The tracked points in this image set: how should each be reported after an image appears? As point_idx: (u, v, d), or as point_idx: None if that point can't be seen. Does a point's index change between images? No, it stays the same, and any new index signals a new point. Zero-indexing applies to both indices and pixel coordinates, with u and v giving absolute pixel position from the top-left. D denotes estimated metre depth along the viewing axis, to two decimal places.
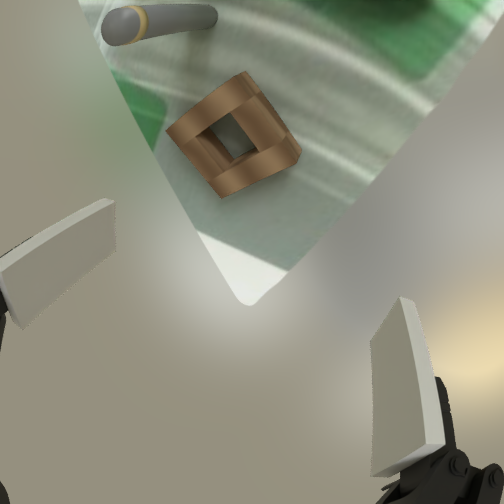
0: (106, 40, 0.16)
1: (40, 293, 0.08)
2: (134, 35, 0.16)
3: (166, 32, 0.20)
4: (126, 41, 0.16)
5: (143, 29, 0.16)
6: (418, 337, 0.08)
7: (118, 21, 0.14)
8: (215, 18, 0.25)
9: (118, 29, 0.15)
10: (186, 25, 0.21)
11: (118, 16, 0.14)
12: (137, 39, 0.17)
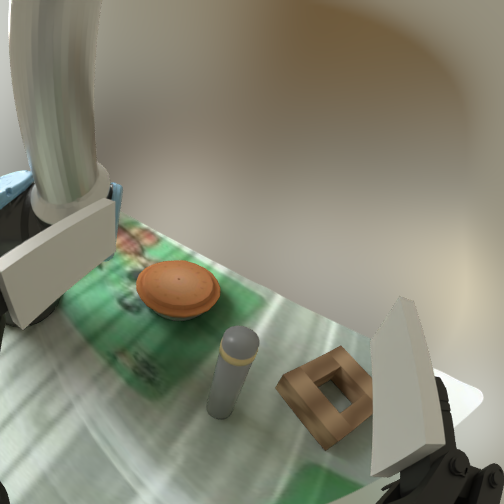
0: (250, 351, 0.26)
1: (40, 293, 0.08)
2: None
3: None
4: (257, 337, 0.28)
5: None
6: (418, 337, 0.08)
7: (237, 335, 0.27)
8: None
9: (244, 337, 0.27)
10: None
11: (232, 334, 0.27)
12: None
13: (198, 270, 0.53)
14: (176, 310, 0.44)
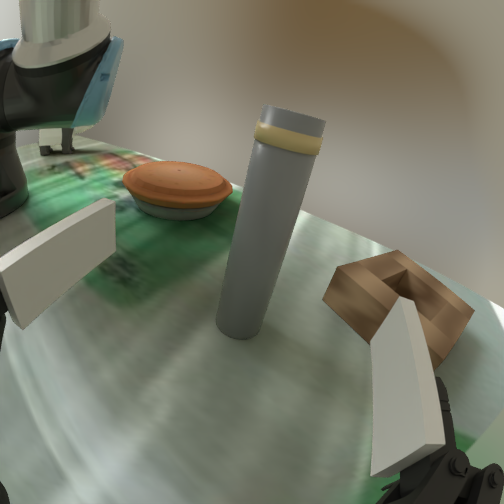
0: (315, 118, 0.13)
1: (40, 293, 0.08)
2: None
3: None
4: None
5: None
6: (418, 337, 0.08)
7: (286, 109, 0.15)
8: None
9: None
10: None
11: None
12: None
13: (204, 168, 0.41)
14: (173, 195, 0.32)
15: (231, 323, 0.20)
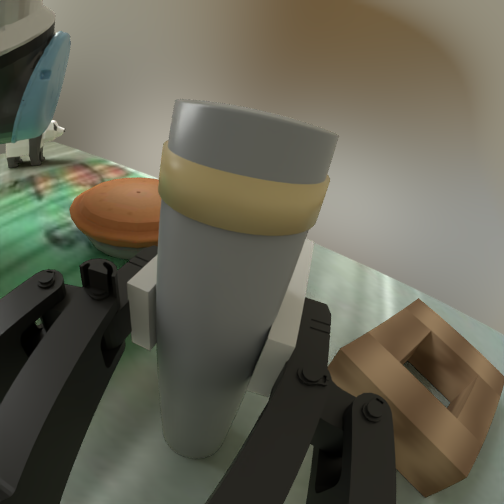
0: (309, 129, 0.05)
1: None
2: None
3: None
4: None
5: None
6: (301, 264, 0.11)
7: (238, 107, 0.06)
8: None
9: (270, 114, 0.06)
10: None
11: (218, 104, 0.06)
12: None
13: None
14: (123, 231, 0.23)
15: (178, 446, 0.12)
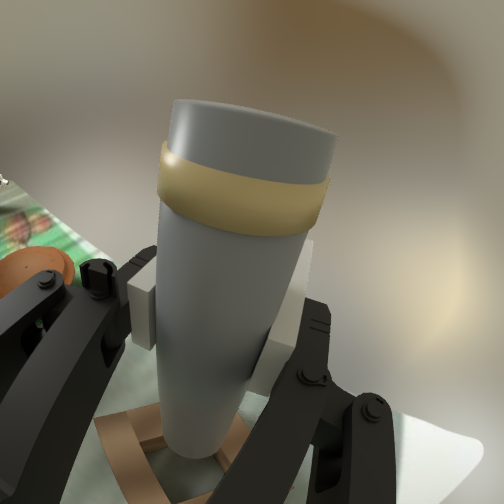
0: (309, 129, 0.05)
1: None
2: None
3: None
4: None
5: None
6: (301, 264, 0.11)
7: (237, 107, 0.06)
8: None
9: (270, 114, 0.06)
10: None
11: (217, 104, 0.06)
12: None
13: (55, 258, 0.34)
14: None
15: (178, 447, 0.11)
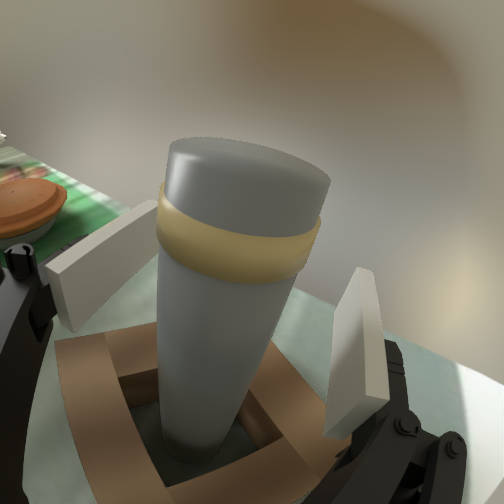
0: (300, 184, 0.05)
1: (93, 295, 0.09)
2: None
3: None
4: None
5: None
6: (370, 301, 0.09)
7: (232, 149, 0.06)
8: None
9: (264, 156, 0.06)
10: None
11: (213, 144, 0.06)
12: None
13: (46, 185, 0.28)
14: None
15: (177, 452, 0.12)
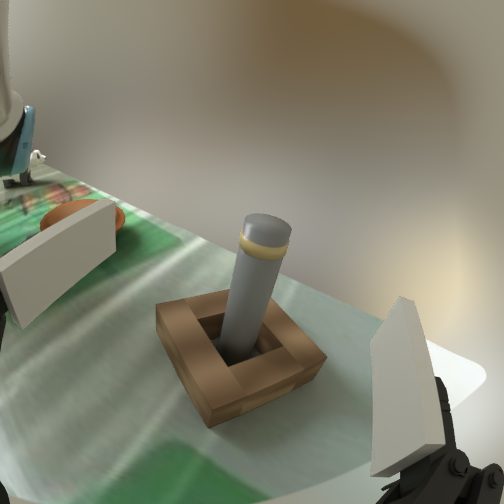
0: (281, 234, 0.20)
1: (40, 293, 0.08)
2: None
3: None
4: None
5: None
6: (418, 337, 0.08)
7: (262, 220, 0.22)
8: None
9: (272, 223, 0.22)
10: None
11: (256, 219, 0.22)
12: None
13: None
14: None
15: (227, 360, 0.27)
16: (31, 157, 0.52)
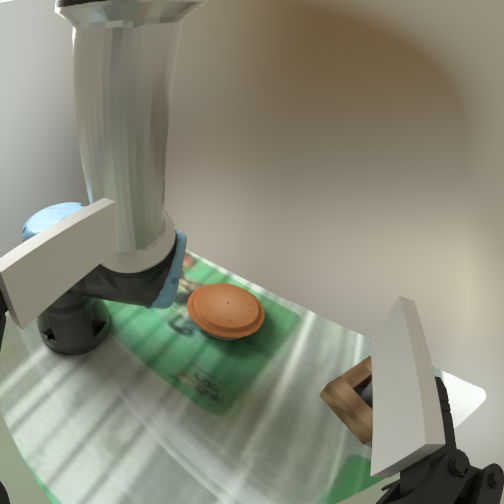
0: None
1: (40, 293, 0.08)
2: None
3: None
4: None
5: None
6: (418, 337, 0.08)
7: None
8: None
9: None
10: None
11: None
12: None
13: (243, 293, 0.59)
14: (230, 332, 0.50)
15: None
16: None
